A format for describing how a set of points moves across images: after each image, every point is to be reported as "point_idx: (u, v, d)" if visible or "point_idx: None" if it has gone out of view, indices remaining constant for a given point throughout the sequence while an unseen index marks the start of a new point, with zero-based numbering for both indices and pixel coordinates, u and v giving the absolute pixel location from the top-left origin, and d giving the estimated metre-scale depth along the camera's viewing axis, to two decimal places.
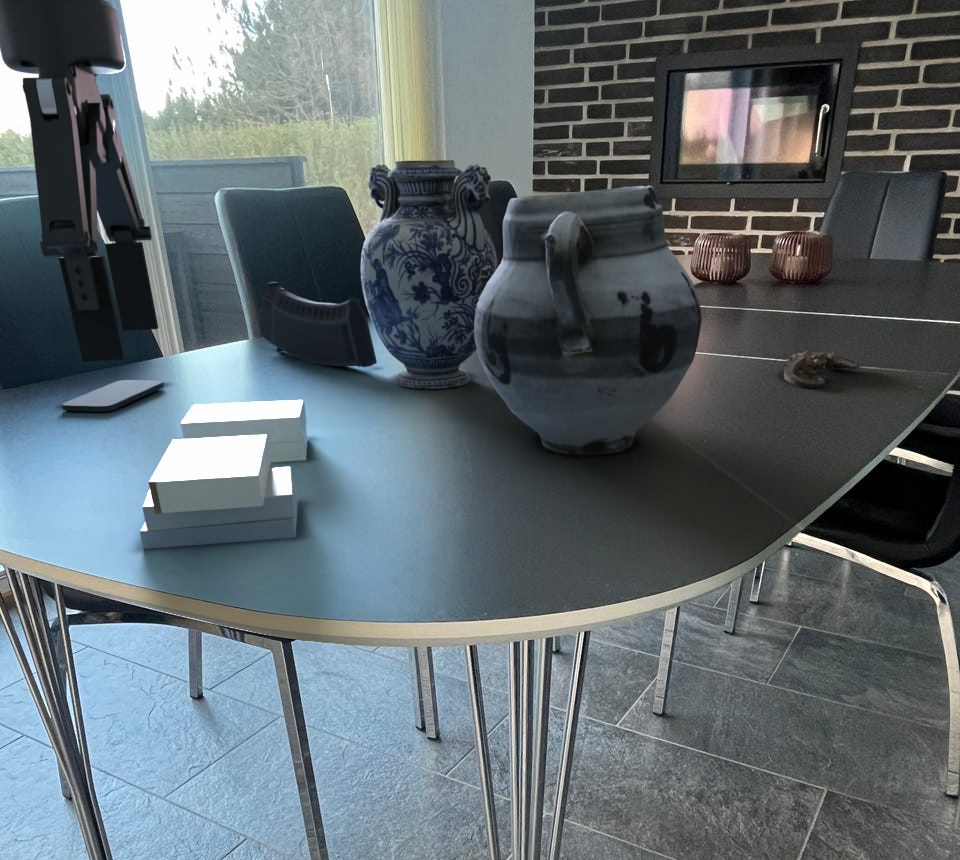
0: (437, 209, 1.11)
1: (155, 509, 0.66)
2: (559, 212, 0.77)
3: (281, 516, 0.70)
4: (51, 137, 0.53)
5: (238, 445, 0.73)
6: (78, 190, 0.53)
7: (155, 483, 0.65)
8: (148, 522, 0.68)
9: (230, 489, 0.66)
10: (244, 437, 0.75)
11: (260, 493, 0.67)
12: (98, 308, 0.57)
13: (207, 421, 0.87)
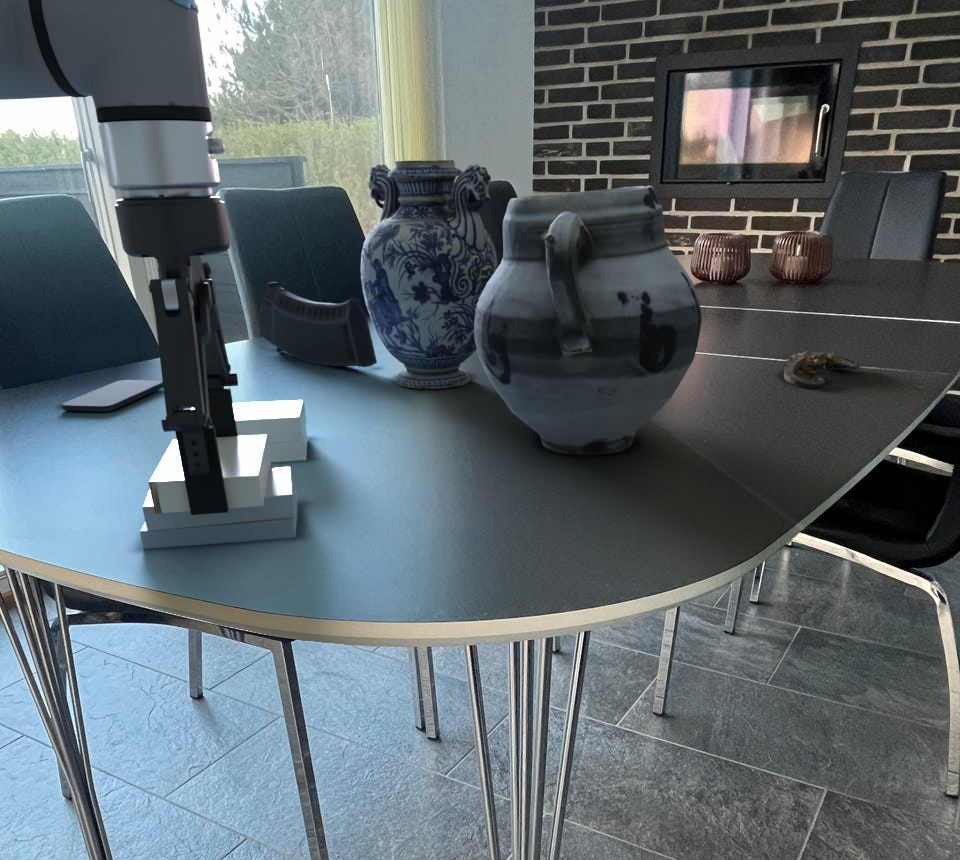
0: (437, 209, 1.11)
1: (155, 509, 0.66)
2: (559, 212, 0.77)
3: (281, 516, 0.70)
4: (174, 331, 0.59)
5: (238, 445, 0.73)
6: (198, 378, 0.59)
7: (155, 483, 0.65)
8: (148, 522, 0.68)
9: (230, 488, 0.66)
10: (244, 437, 0.75)
11: (260, 493, 0.67)
12: (209, 473, 0.63)
13: None
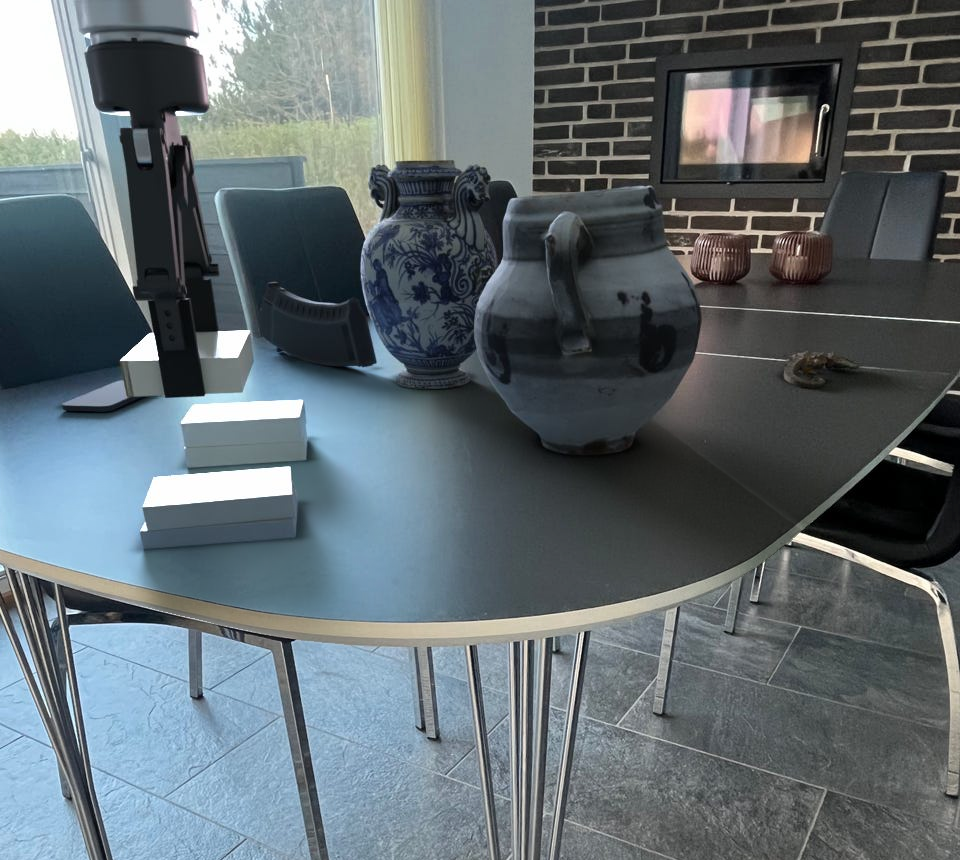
0: (437, 209, 1.11)
1: (127, 391, 0.62)
2: (559, 212, 0.77)
3: (281, 516, 0.70)
4: (146, 186, 0.55)
5: (218, 337, 0.69)
6: (171, 238, 0.55)
7: (127, 362, 0.61)
8: (148, 522, 0.68)
9: (207, 371, 0.62)
10: (225, 332, 0.71)
11: (239, 377, 0.62)
12: (184, 349, 0.59)
13: (207, 421, 0.87)
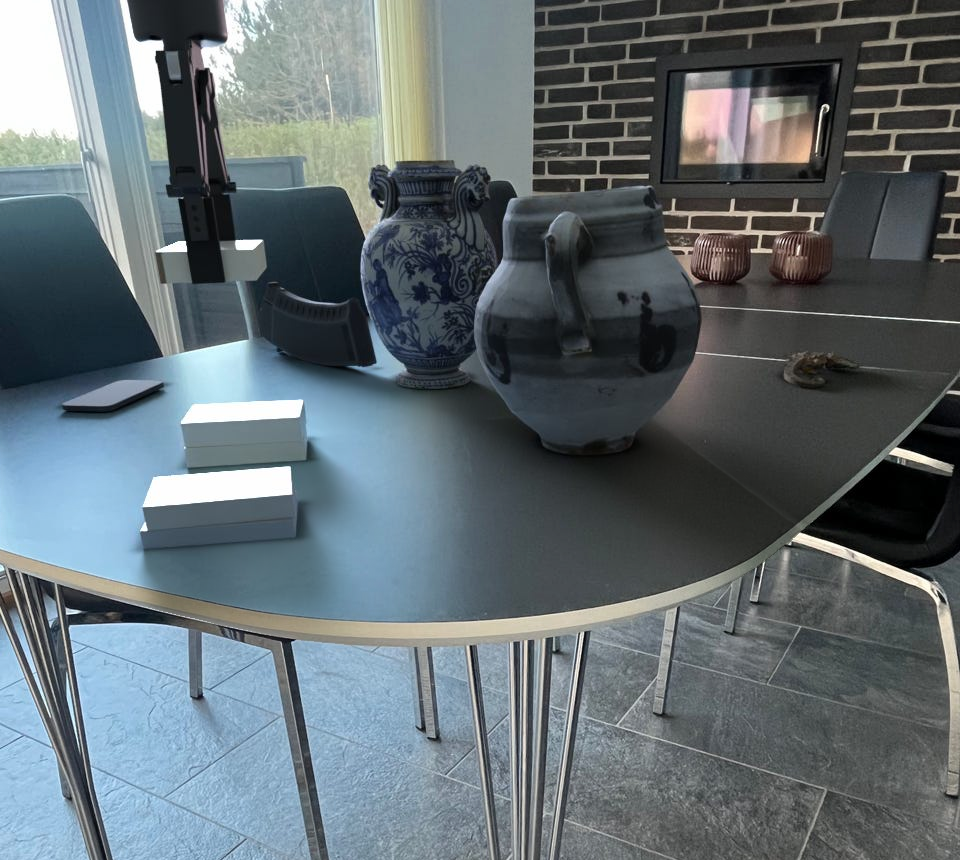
0: (437, 209, 1.11)
1: (160, 279, 0.74)
2: (559, 212, 0.77)
3: (281, 516, 0.70)
4: (176, 99, 0.67)
5: (236, 242, 0.81)
6: (197, 142, 0.67)
7: (160, 253, 0.73)
8: (148, 522, 0.68)
9: (227, 261, 0.74)
10: (242, 240, 0.83)
11: (254, 267, 0.74)
12: (208, 239, 0.71)
13: (207, 421, 0.87)
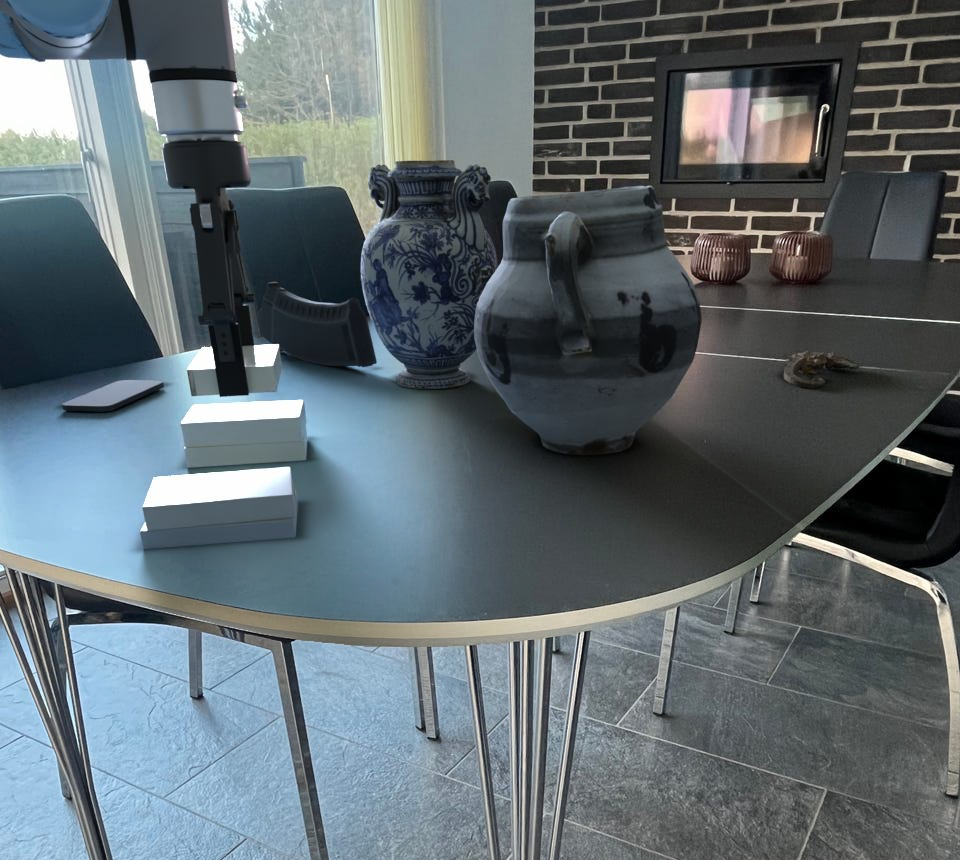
0: (437, 209, 1.11)
1: (191, 392, 0.83)
2: (559, 212, 0.77)
3: (281, 516, 0.70)
4: (208, 244, 0.76)
5: (256, 350, 0.91)
6: (227, 281, 0.77)
7: (192, 370, 0.82)
8: (148, 522, 0.68)
9: (251, 376, 0.83)
10: (260, 346, 0.93)
11: (274, 380, 0.84)
12: (234, 360, 0.81)
13: (207, 421, 0.87)
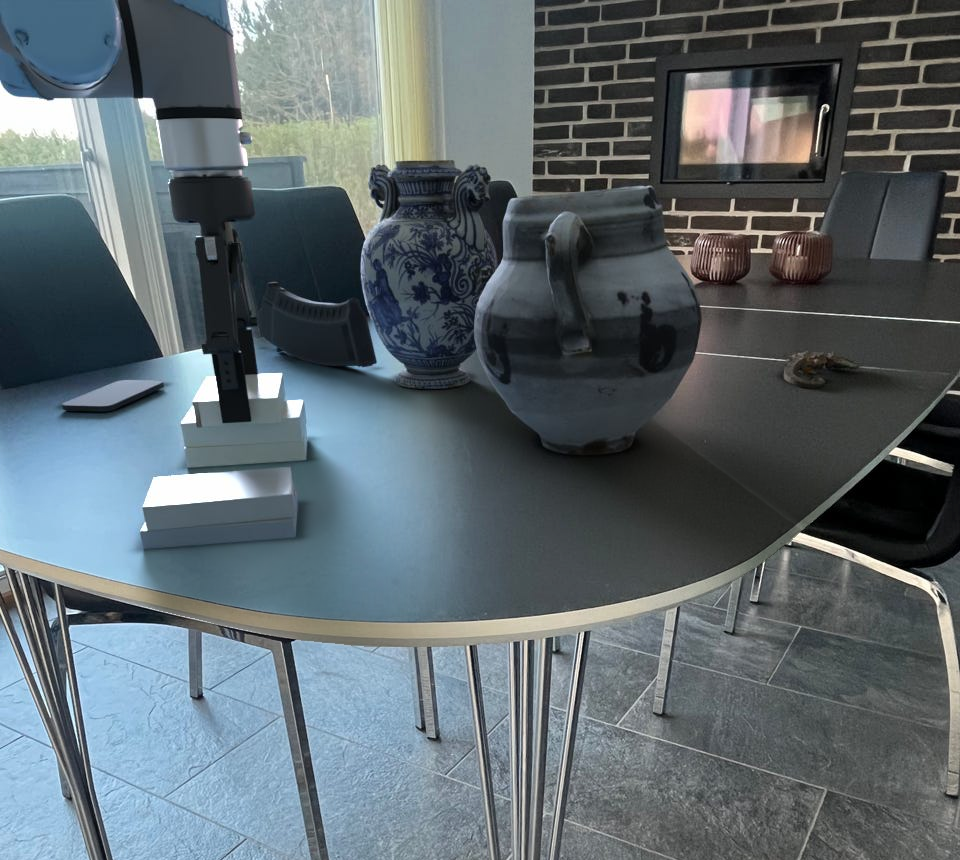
0: (437, 209, 1.11)
1: (197, 423, 0.85)
2: (559, 212, 0.77)
3: (281, 516, 0.70)
4: (213, 275, 0.77)
5: (259, 379, 0.92)
6: (230, 311, 0.78)
7: (197, 402, 0.84)
8: (148, 522, 0.68)
9: (255, 408, 0.85)
10: (264, 374, 0.94)
11: (278, 412, 0.85)
12: (237, 388, 0.81)
13: None
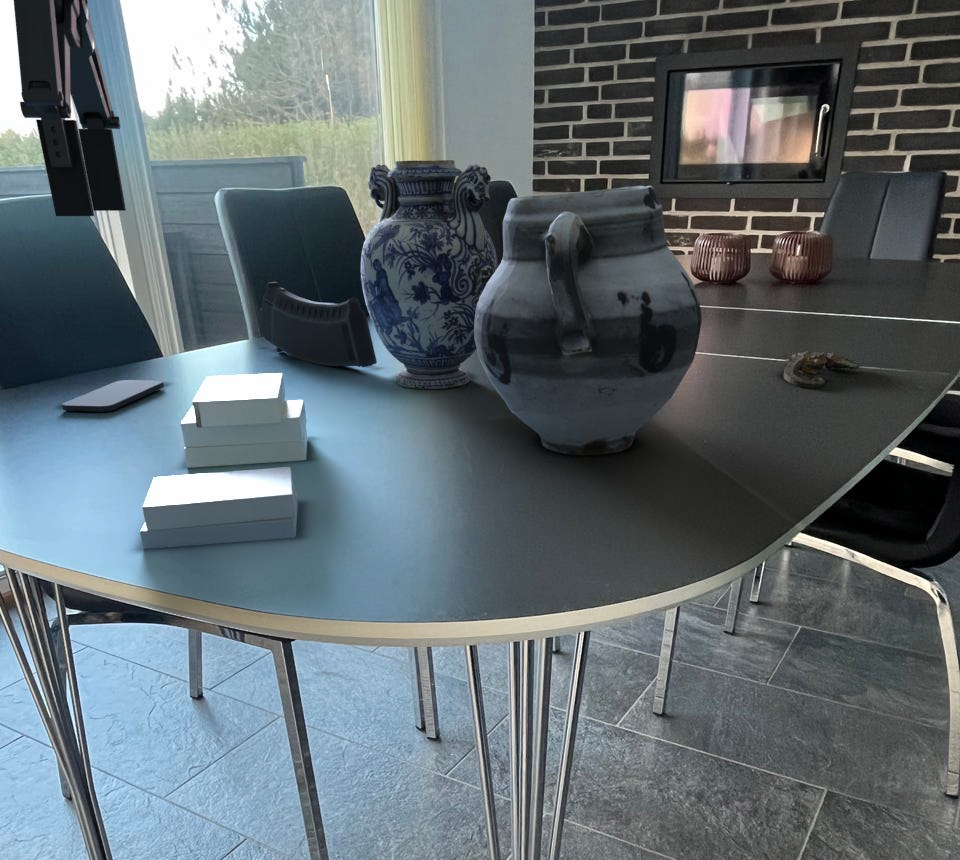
0: (437, 209, 1.11)
1: (197, 423, 0.85)
2: (559, 212, 0.77)
3: (281, 516, 0.70)
4: (31, 9, 0.61)
5: (259, 379, 0.92)
6: (54, 55, 0.62)
7: (197, 402, 0.84)
8: (148, 522, 0.68)
9: (255, 408, 0.85)
10: (264, 374, 0.94)
11: (278, 412, 0.85)
12: (70, 166, 0.66)
13: None
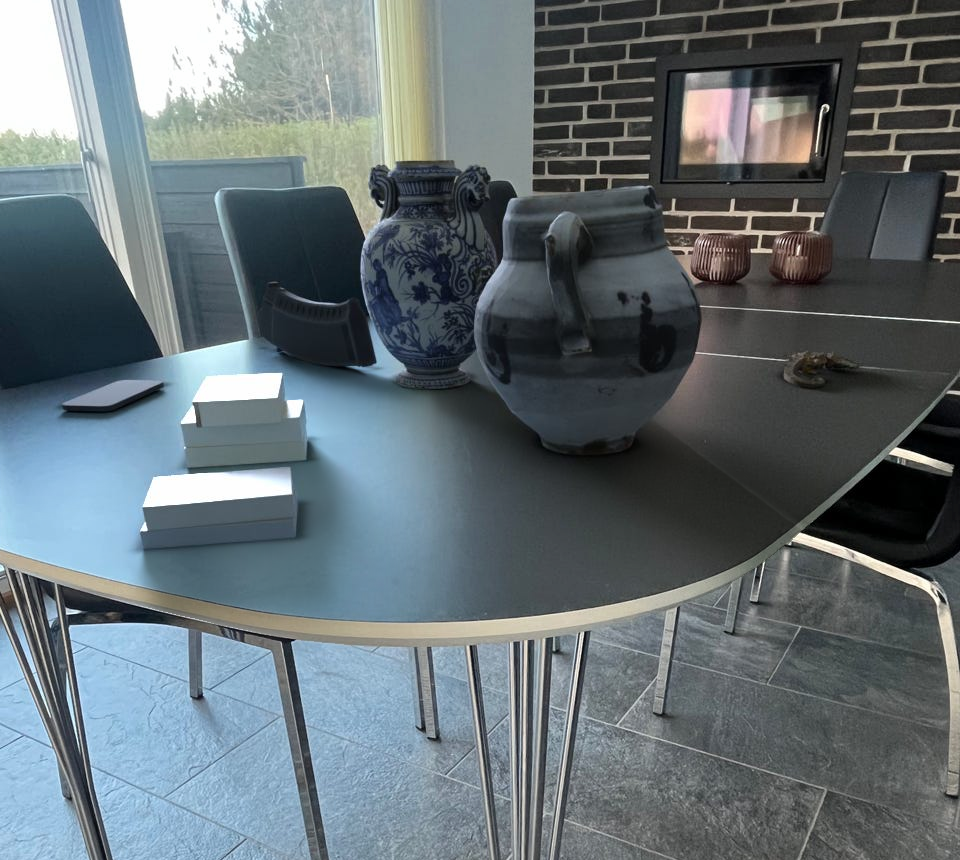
0: (437, 209, 1.11)
1: (197, 423, 0.85)
2: (559, 212, 0.77)
3: (281, 516, 0.70)
4: None
5: (259, 379, 0.92)
6: None
7: (197, 402, 0.84)
8: (148, 522, 0.68)
9: (255, 408, 0.85)
10: (264, 374, 0.94)
11: (278, 412, 0.85)
12: None
13: None
